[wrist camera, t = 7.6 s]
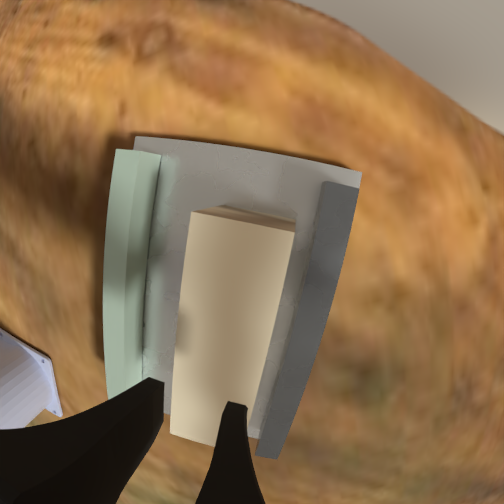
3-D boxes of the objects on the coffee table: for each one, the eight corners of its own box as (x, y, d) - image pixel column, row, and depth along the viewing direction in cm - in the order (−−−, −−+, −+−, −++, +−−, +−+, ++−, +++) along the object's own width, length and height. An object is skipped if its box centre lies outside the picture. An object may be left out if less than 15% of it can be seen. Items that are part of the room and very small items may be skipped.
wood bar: (195, 385, 19) (170, 433, 14) (222, 204, 16) (191, 211, 12) (253, 400, 19) (240, 453, 14) (295, 219, 16) (295, 232, 11)
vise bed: (126, 389, 22) (104, 415, 18) (143, 138, 17) (112, 129, 14) (284, 434, 20) (280, 468, 17) (358, 173, 16) (373, 169, 13)
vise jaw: (124, 390, 20) (109, 408, 18) (138, 152, 16) (116, 148, 14) (142, 396, 20) (127, 416, 18) (161, 155, 16) (140, 150, 14)
